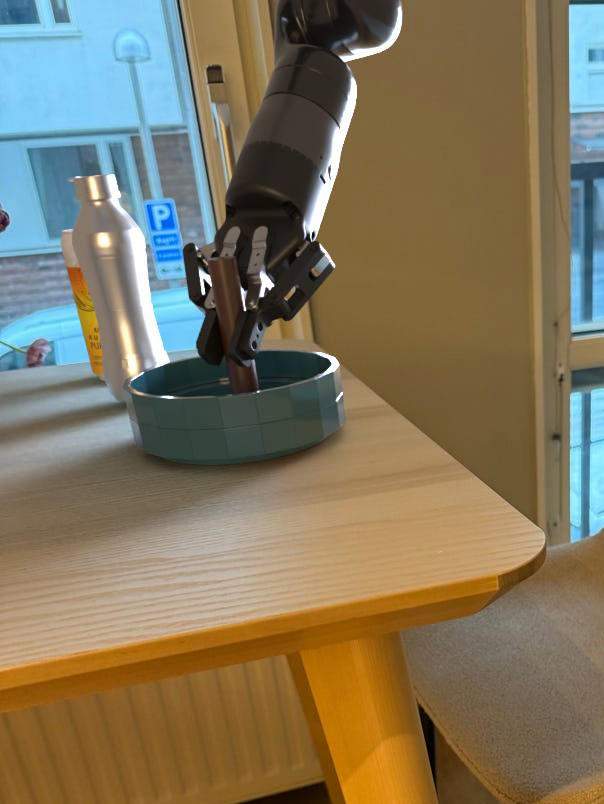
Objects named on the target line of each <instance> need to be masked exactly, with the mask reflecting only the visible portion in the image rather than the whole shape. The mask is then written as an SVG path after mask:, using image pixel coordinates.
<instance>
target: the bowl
mask: <svg viewBox="0 0 604 804" xmlns="http://www.w3.org/2000/svg"><path fill="white" fill-rule="evenodd" d="M254 362H255V368H256V373H257V379H258V385H259V391H255V392H248V393H239V394H232V392H231V387H230V382H229V376H228V371H227V365H226V360H225V355H224V356H223V359H222V362H221V364H220V365H219V366H211V365H209V364H208V363H207V362H206V361H205V360H204V359H203V358H202V357H200V356H199V355H198V356H192V357H186V358H185V357H184V358H181V359H178V360H172V361H170V362H168V363H164V364H160V365H157V366H154V367H151V368H148V369H145V370H142V371H140V372H137V373H135V374H134V375H132V376H131V377H129V378H127V379H126V380H125V381H124V384H123V387H122V389H123V393H124V397H125V401H126V402H125V405H126V409H127V414H128V418H129V421H130V422H129V423H130V427H131V431H132V435H133V439H134V444H135V446H137V447H138V448H139V449H140V450H142V451H143V452H144V453H145V454H149V455H153V456H156V457H160V458H161V459H163V460H166V461H169V462H173V463H179V464H186V465H195V466H196V465H197V466H222V465H234V464H245V463H246V464H247V463H253V462H261V461H266V460H271V459H276V458H281V457H284V456H288V455H291V454H295V453H298V452H301V451H304V450H306V449H309V448H312V447H314V446H316V445H318V444H319V443H321V442H323V441H324V440H326V439H327V438H328V437H329V436H330V435H331V434H334V433H335V432H337V431H338V430H340V429H341V428H342V426H343V425H344V424H345V422H346V420H347V416H346V410H345V409H346V408H345V401H344V393H343V383H342V376H341V368H340V363H339V361H338V360H337V359H336V357H335V356H332V355H329V354H326V353H324V352H318V351H311V350H304V349H278V348H274V349H273V348H272V349H259V353H258V355H257V356H256V358H255V359H254Z"/></svg>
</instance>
